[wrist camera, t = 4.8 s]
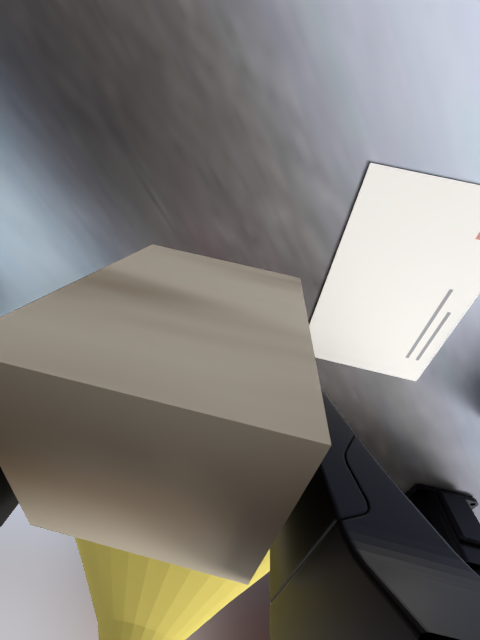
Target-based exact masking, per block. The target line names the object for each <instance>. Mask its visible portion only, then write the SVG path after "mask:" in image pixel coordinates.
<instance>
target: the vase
mask: <svg viewBox="0 0 480 640" xmlns="http://www.w3.org/2000/svg"><path fill="white" fill-rule="evenodd" d="M75 540H76V543H77V546H78V549H79V553H80V556H81V559H82V563H83V567H84V571H85V574H86V578H87V582H88V586H89V590H90V594H91V598H92V602H93V606H94V610H95V613H96V617H97V621H98V632H99V640H185V639H187V638H188V637H189V636H190V635H191V634H192V633H193V632H195V631H196V630H197V629H198V628H199V627H201V626H202V625H203V624H204V623H205V622H207V621H208V620H209V619H210V618H211V617H212V616H214V615H215V614H216V613H217V612H218V611H219V610H221V609H222V608H223V607H224V606H225V605H226V604H228V603H229V602H230V601H232V600H233V599H234V598H235V597H236V596H238V595H239V594H240V593H242V592H243V591H244V590H246V589H247V588H248V587H250V586H251V585H252V584H254V583H255V582H256V581H257V580H259V579H260V578H261V577H262V576H264V575H265V574H266V573H268V572H269V571H270V549H269V551H268V552H267V554H266V556H265V557H264V559H263V561H262V562H261V564H260V566H259V567H258V569H257V571H256V572H255V574H254V576H253V577H252V579H251V581H250V582H249V584H248V585H246V584H243V583H239V582H235V581H232V580H228V579H225V578H221V577H217V576H214V575H210V574H206V573H203V572H199V571H196V570H192V569H188V568H185V567H181V566H178V565H174V564H170V563H167V562H163V561H159V560H156V559H152V558H149V557H145V556H141V555H138V554H134V553H130V552H127V551H123V550H120V549H116V548H112V547H109V546H105V545H102V544H98V543H94V542H91V541H87V540H83V539H80V538H76V537H75Z"/></svg>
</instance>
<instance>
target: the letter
mask: <svg viewBox="0 0 480 640" xmlns="http://www.w3.org/2000/svg"><path fill="white" fill-rule="evenodd" d="M479 294H480V185H476V184H471V183H466V182H462V181H457V180H452V179H447V178H442V177H437V176H433V175H428V174H423V173H418V172H413V171H408V170H403V169H399V168H394V167H389V166H384V165H379V164H374V163H370V164H369V167H368V169H367V172H366V175H365V177H364V180H363V183H362V185H361V188H360V191H359V193H358V196H357V199H356V201H355V204H354V207H353V209H352V212H351V215H350V217H349V220H348V223H347V225H346V228H345V231H344V233H343V236H342V239H341V241H340V244H339V247H338V249H337V252H336V255H335V257H334V260H333V263H332V265H331V268H330V271H329V273H328V276H327V279H326V281H325V284H324V287H323V289H322V292H321V294H320V297H319V300H318V302H317V305H316V308H315V310H314V313H313V316H312V318H311V321H310V324H309V328H310V333H311V339H312V344H313V350H314V355H315V357H316V358H320V359H324V360H328V361H332V362H337V363H341V364H345V365H349V366H353V367H358V368H362V369H366V370H370V371H375V372H379V373H383V374H387V375H391V376H396V377H400V378H404V379H408V380H412V381H417V380H418V378H419V377H420V375H421V374H422V373H423V371H424V370H425V369H426V367H427V366H428V364H429V363H430V362H431V360H432V359H433V357H434V356H435V355H436V353H437V352H438V350H439V349H440V348H441V346H442V345H443V344H444V342H445V341H446V339H447V338H448V337H449V335H450V334H451V332H452V331H453V330H454V328H455V327H456V326H457V324H458V323H459V321H460V320H461V319H462V317H463V316H464V314H465V313H466V312H467V310H468V309H469V308H470V306H471V305H472V303H473V302H474V301H475V299H476V298H477V296H478V295H479Z"/></svg>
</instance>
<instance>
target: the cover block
mask: <svg viewBox="0 0 480 640" xmlns="http://www.w3.org/2000/svg"><path fill="white" fill-rule="evenodd" d="M330 447H331V440H330V435H329V430H328V424H327V419H326V414H325V408H324V403H323V398H322V392H321V387H320V382H319V376H318V371H317V366H316V360H315V355H314V350H313V344H312V339H311V333H310V328H309V323H308V317H307V312H306V307H305V301H304V296H303V291H302V285H301V280H300V278H298V277H293V276H289V275H285V274H280V273H276V272H271V271H267V270H263V269H258V268H254V267H249V266H245V265H241V264H236V263H232V262H227V261H223V260H219V259H214V258H210V257H206V256H201V255H197V254H192V253H188V252H184V251H179V250H175V249H170V248H166V247H162V246H157V245H153V244H152V245H150V246H148V247H146V248H144V249H142V250H140V251H138V252H136V253H133V254H131V255H129V256H127V257H125V258H123V259H121V260H119V261H117V262H115V263H113V264H110V265H108V266H106V267H104V268H102V269H100V270H98V271H96V272H94V273H92V274H90V275H87V276H85V277H83V278H81V279H79V280H77V281H75V282H73V283H71V284H69V285H67V286H64V287H62V288H60V289H58V290H56V291H54V292H52V293H50V294H48V295H46V296H44V297H41V298H39V299H37V300H35V301H33V302H31V303H29V304H27V305H25V306H23V307H21V308H18V309H16V310H14V311H12V312H10V313H8V314H6V315H4V316H2V317H0V467H1V469H2V471H3V472H4V474H5V476H6V478H7V480H8V482H9V484H10V486H11V488H12V490H13V492H14V494H15V496H16V498H17V500H18V502H19V504H20V506H21V507H22V509H23V511H24V513H25V515H26V517H27V519H28V521H29V523H30V525H33V526H37V527H40V528H44V529H47V530H51V531H55V532H59V533H62V534H66V535H69V536H73V537H76V538H80V539H83V540H87V541H91V542H94V543H98V544H102V545H105V546H109V547H112V548H116V549H120V550H123V551H127V552H130V553H134V554H138V555H141V556H145V557H149V558H152V559H156V560H159V561H163V562H167V563H170V564H174V565H178V566H181V567H185V568H188V569H192V570H196V571H199V572H203V573H206V574H210V575H214V576H217V577H221V578H225V579H228V580H232V581H235V582H239V583H243V584H246V585H248V584H249V582H250V581H251V579H252V577H253V576H254V574H255V572H256V571H257V569H258V567H259V566H260V564H261V562H262V561H263V559H264V557H265V556H266V554H267V552H268V551H269V549H270V547H271V546H272V544H273V542H274V541H275V539H276V537H277V536H278V534H279V532H280V531H281V529H282V527H283V526H284V524H285V522H286V521H287V519H288V517H289V516H290V514H291V512H292V511H293V509H294V507H295V506H296V504H297V502H298V501H299V499H300V497H301V496H302V494H303V492H304V490H305V489H306V487H307V485H308V484H309V482H310V480H311V479H312V477H313V475H314V474H315V472H316V470H317V469H318V467H319V465H320V464H321V462H322V460H323V459H324V457H325V455H326V454H327V452H328V450H329V449H330Z"/></svg>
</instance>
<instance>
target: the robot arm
mask: <svg viewBox="0 0 480 640" xmlns="http://www.w3.org/2000/svg"><path fill="white" fill-rule="evenodd" d="M321 392H322V398H323V403H324V408H325V414H326V419H327V424H328V430H329V435H330V440H331V447H330V449H329V450H328V452H327V454H326V455H325V457H324V459H323V460H322V462H321V464H320V465H319V467H318V469H317V470H316V472H315V474H314V475H313V477H312V479H311V480H310V482H309V484H308V485H307V487H306V489H305V490H304V492H303V494H302V496H301V497H300V499H299V501H298V502H297V504H296V506H295V507H294V509H293V511H292V512H291V514H290V516H289V517H288V519H287V521H286V522H285V524H284V526H283V527H282V529H281V531H280V532H279V534H278V536H277V537H276V539H275V541H274V542H273V544H272V546H271V547H270V602H271V604H270V640H480V523H479V522H478V520H477V518H476V516H475V515H474V513H473V511H472V509H474V508H475V507H476V506H478V502H477V501H476V499H475V498H472V497H468V496H464V495H460V494H456V493H452V492H448V491H444V490H440V489H436V488H432V487H428V486H424V485H415V486H414V487H413V488H412V489H411V490H410V491H409V492H408V493H407V494H406V495H405V494H404V493H403V492H402V491H401V490H400V488H399V487H398V486H397V485H396V484H395V483H394V481H393V480H392V479H391V478H390V477H389V476H388V474H387V473H386V472H385V471H384V470H383V468H382V467H381V466H380V465H379V463H378V462H377V461H376V460H375V458H374V457H373V456H372V455H371V453H370V452H369V451H368V450H367V448H366V447H365V446H364V444H363V443H362V442H361V440H360V439H359V438H358V436H356V435H355V433H354V431H353V430H352V429H351V427H350V426H349V425H348V423H347V422H346V421H345V419H344V418H343V417H342V415H341V414H340V413H339V411H338V410H337V409H336V407H335V406H334V405H333V403H332V402H331V401H330V399H329V398H328V397H327V395H326V394H325V393H324V391H323V390H322V389H321ZM18 503H19V502H18V500H17V498H16V496H15V494H14V492H13V490H12V488H11V486H10V484H9V482H8V480H7V478H6V476H5V474H4V472H3V471H2V469H1V467H0V527H1V526H2V525H3V523H4V522H5V521H6V519H7V518H8V517H9V515H10V514H11V513H12V511H13V510H14V509H15V507H16V506H17V505H18Z"/></svg>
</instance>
